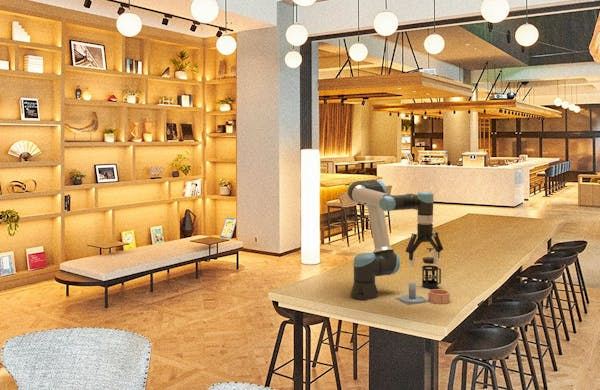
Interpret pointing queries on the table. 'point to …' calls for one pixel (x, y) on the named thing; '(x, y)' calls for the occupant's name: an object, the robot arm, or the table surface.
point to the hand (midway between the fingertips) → (424, 265)
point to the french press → (430, 283)
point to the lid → (412, 295)
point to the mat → (411, 303)
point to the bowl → (439, 296)
